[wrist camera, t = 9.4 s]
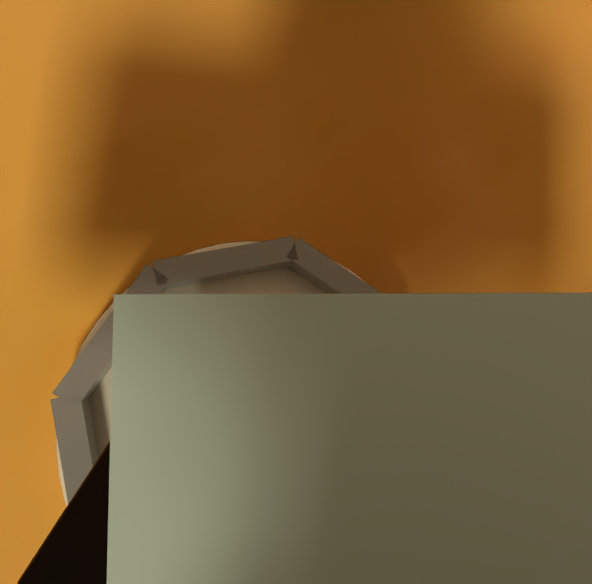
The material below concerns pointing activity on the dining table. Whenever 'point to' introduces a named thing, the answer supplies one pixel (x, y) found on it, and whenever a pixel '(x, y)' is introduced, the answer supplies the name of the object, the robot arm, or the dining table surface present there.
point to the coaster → (179, 280)
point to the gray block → (351, 439)
